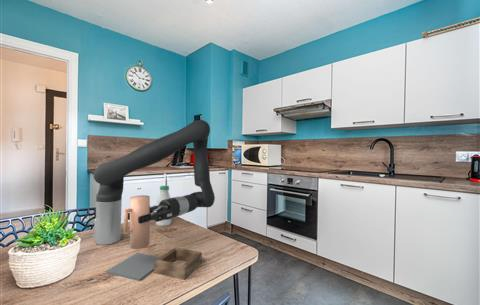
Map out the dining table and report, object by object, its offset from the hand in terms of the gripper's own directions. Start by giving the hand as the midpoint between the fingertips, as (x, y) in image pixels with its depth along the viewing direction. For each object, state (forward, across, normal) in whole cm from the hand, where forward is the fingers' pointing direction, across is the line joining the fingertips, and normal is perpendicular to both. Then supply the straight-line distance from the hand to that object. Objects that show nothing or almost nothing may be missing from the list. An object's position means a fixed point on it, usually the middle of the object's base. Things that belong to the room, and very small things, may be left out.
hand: (133, 218), depth 70 cm
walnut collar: (-9, +11, +17) cm, 22 cm away
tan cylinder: (-1, 0, +10) cm, 10 cm away
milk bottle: (-34, -28, +17) cm, 47 cm away
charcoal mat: (-2, 0, +16) cm, 17 cm away
